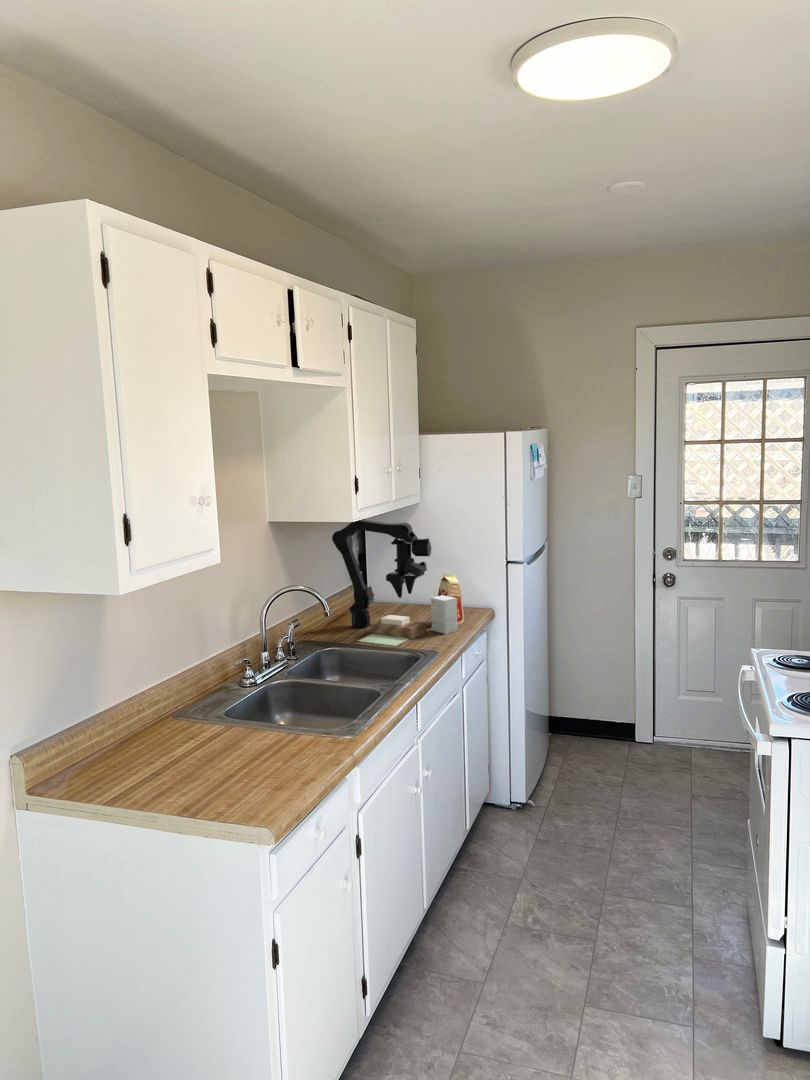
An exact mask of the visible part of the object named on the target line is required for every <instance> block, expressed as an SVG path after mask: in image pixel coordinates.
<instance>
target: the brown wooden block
mask: <svg viewBox="0 0 810 1080" xmlns="http://www.w3.org/2000/svg"><path fill="white" fill-rule="evenodd" d="M369 631H370V634H369V635H371V634H375V635H383V636H392V637H401V638H409V640H413V639H415V638H417V637H419V636H421V635H423V634H425V622H423V621H417V620H415V621H413V620H410V622H409V623H406V624H404V625H402V626H401V625H391V624H382V623H381V618H380V619H379V620H376V621H374V622H370V626H369Z"/></svg>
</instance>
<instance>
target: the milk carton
mask: <svg viewBox="0 0 810 1080" xmlns="http://www.w3.org/2000/svg"><path fill="white" fill-rule="evenodd" d="M442 595H444V596H449V597H453V598H457V625H459V624H463V622H464V623H465V617H464V616H465V615H464V614H465V613H464V605H463V598H462V597H463V596H462V591H461V585H460V582H459V580H458V579H457V574H447V573H443V577H442V578H441V580H440V583H439V588H438V592H437V596H442Z"/></svg>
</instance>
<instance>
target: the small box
mask: <svg viewBox="0 0 810 1080" xmlns="http://www.w3.org/2000/svg"><path fill="white" fill-rule="evenodd" d="M430 608H431V611H430V613H431V614H430V615H431V616H430V617H431V631H433V632H436V633H440V634H443V635H448V634H452V633H456V632H458V624H457V598H453V597H449V596H444V595H442V596H438V595H437V596H431V597H430Z"/></svg>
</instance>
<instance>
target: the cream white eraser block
mask: <svg viewBox="0 0 810 1080" xmlns="http://www.w3.org/2000/svg"><path fill="white" fill-rule="evenodd" d="M380 619H381V623H382V624H391V625H401V626H402V625H404V624H406V623H409V622H410V621H411V619H410V616H403V615H397V614H396V615H394V614H388V615H385V616H383V617H381V618H380Z"/></svg>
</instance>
